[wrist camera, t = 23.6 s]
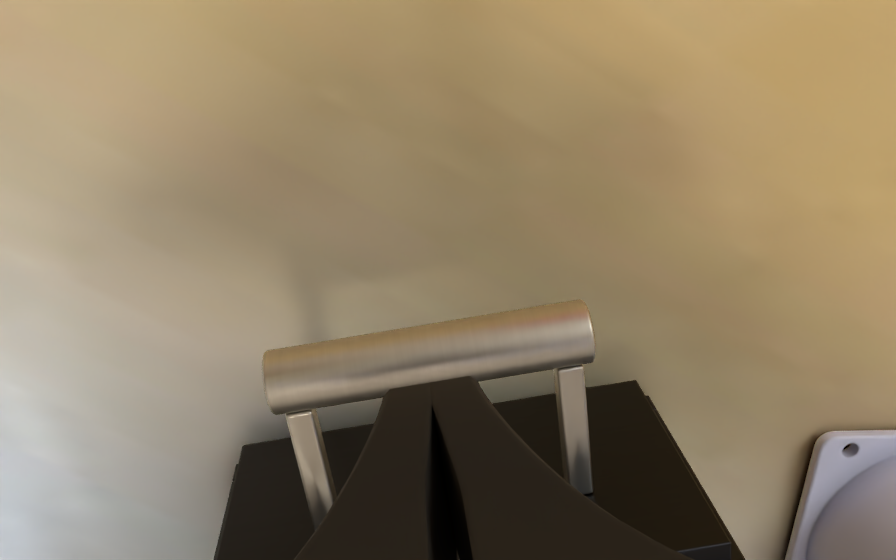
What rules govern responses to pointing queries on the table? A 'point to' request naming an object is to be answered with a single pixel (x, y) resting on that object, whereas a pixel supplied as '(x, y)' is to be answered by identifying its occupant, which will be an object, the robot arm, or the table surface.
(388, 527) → the robot arm
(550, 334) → the drawer
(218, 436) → the table surface
